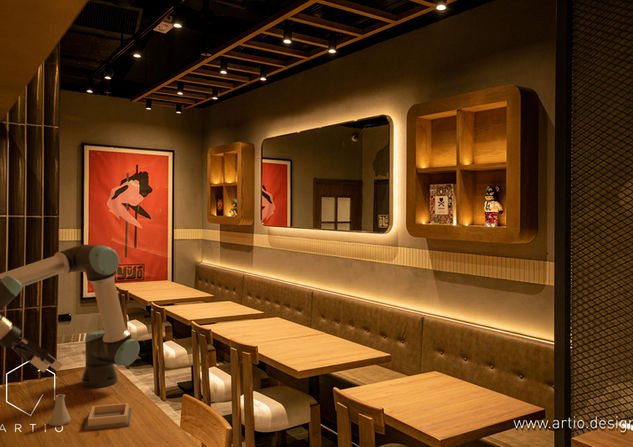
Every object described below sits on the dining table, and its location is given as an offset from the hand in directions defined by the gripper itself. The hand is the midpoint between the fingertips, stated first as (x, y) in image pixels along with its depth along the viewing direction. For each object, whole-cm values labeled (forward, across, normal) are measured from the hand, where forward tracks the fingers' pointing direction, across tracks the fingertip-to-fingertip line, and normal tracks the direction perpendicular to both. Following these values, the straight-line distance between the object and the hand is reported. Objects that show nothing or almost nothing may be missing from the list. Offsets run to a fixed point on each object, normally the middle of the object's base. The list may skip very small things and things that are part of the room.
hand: (53, 368), depth 191 cm
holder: (+27, +7, -4) cm, 28 cm away
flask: (+16, -3, -12) cm, 20 cm away
